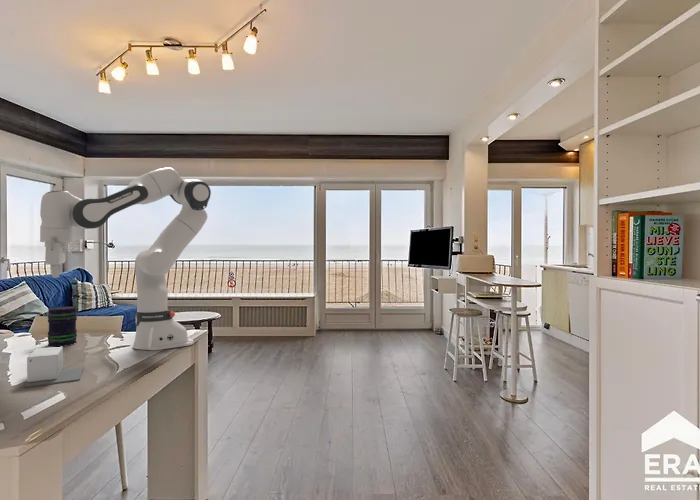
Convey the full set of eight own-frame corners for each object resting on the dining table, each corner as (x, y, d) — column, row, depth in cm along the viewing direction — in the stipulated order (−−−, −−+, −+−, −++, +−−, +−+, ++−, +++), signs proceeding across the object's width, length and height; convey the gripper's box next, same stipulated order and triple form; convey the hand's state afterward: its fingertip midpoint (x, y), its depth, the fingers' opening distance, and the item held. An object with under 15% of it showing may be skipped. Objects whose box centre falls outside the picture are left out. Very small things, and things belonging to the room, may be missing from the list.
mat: (83, 368, 133) (83, 367, 133) (79, 380, 121) (79, 379, 121) (33, 374, 127) (33, 373, 127) (24, 387, 115) (24, 386, 115)
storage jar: (71, 340, 176) (71, 305, 176) (81, 343, 170) (81, 307, 171) (43, 344, 168) (43, 308, 168) (52, 347, 162) (53, 310, 163)
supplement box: (34, 371, 128) (25, 382, 117) (35, 348, 129) (26, 356, 118) (63, 369, 132) (57, 379, 121) (64, 345, 132) (57, 354, 121)
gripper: (63, 236, 135) (63, 278, 135) (70, 238, 153) (69, 275, 152) (39, 236, 132) (39, 279, 132) (49, 238, 149) (48, 276, 149)
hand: (55, 277), depth 142 cm, fingers closed
